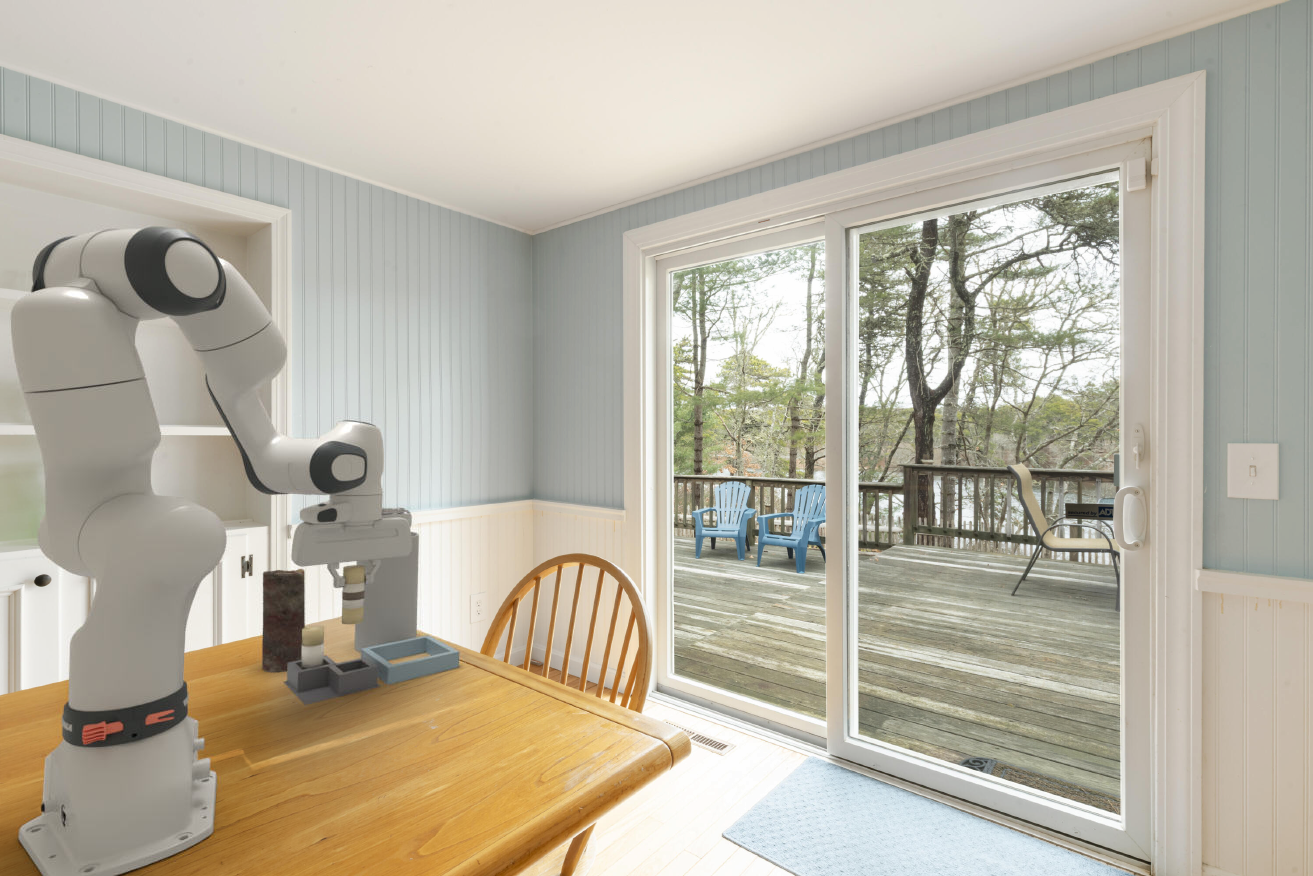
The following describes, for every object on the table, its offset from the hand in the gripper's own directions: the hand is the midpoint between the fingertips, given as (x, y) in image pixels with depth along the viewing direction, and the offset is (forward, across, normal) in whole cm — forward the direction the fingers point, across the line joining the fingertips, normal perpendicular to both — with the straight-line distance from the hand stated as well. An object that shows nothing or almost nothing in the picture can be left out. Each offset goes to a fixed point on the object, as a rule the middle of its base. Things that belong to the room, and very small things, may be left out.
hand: (353, 585), depth 117 cm
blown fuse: (+7, 0, 0) cm, 7 cm away
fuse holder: (+19, +2, -3) cm, 20 cm away
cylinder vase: (+19, -14, -19) cm, 31 cm away
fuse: (+18, +5, -6) cm, 20 cm away
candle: (+20, +6, -19) cm, 28 cm away
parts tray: (+19, -12, -3) cm, 23 cm away
